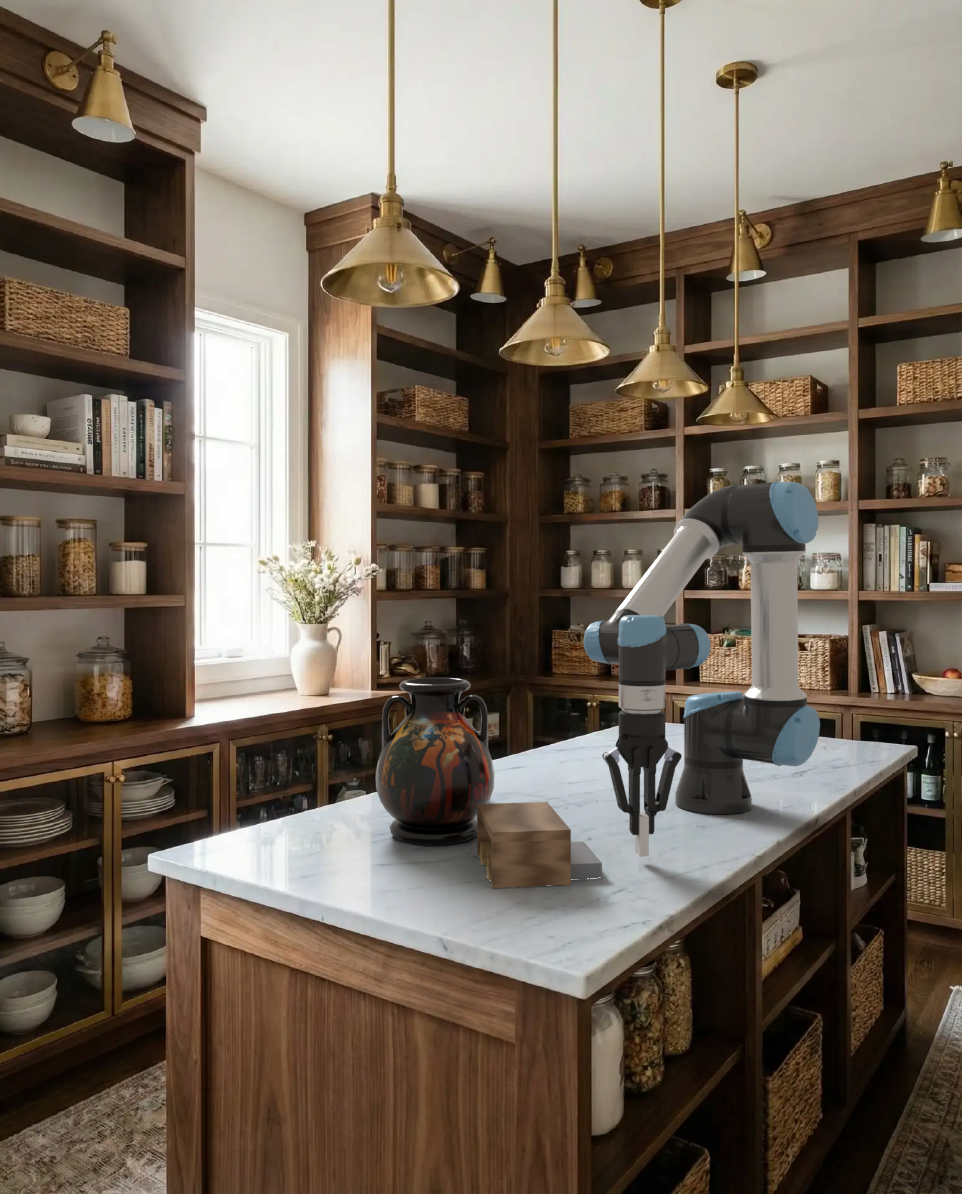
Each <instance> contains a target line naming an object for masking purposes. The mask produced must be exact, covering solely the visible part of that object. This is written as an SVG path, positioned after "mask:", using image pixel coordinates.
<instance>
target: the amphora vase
mask: <svg viewBox="0 0 962 1194" xmlns="http://www.w3.org/2000/svg"><path fill="white" fill-rule="evenodd" d="M398 685H399V688H400V690H402V691H403V692H407V694H409V698H410V701H409V700H408V699H407V698H405V697H404V696H402V695H392V696H390V697H389V698H387V700H386V702H385V704H384V706H383V708H382V716H381V719H382V721H381V751H380V754H379V757H378V761H377V765H376V770H375V789H376V792H377V795H378V798H379V801H380V803H381V804H382V806H383V808H384V809H385V811H386V812H387V813H388V814H389V815H390V816H391V817H392V818H393V819H394V820H392V822H391V824H390V825H389V830H390V831H389V832H390V834H391V835H392V836H393V837H395V838H396V839H397V840H399V841H401V842H404V843H408V844H413V845H420V844H422V845H421V846H448V845H453V844H459V843H463V842H467V841H469V840H472V839H473V838H475V837H477V804H489V802H490V801H491V799H492V798H491V797H492V794H493V792H494V788H495V770H494V769H495V768H494V764H493V759H492V756H491V753H490V750H489V722H488V721H489V718H488V717H489V716H488V708H487V705H486V703H485V701H484V700H483V698H482V697H480V696H479V695H477V694H470V695H467V696H465V697H464V698H463V699H461V701H460V697H461V694H462V693H463V692H465V691H467V690H469V689H470V688H471V683H470V682H469V681H468V680H466V679H462V678H454V677H420V678H411V679H405V680H403V681H401V682H400V683H399V684H398ZM471 702H473V703H476V704H478V707H479V709H480V715H481V716H480V717H481V724H480V730H479V731H480V733H478V732H479V731H478V730H477V729H476V728H475V727H474V726H473V725H472V723H471V722H470V721H469V720H468V719H467V718H466V716H465V709H466V708H465V707H466V706H467V705H468V704H469V703H471ZM396 703H401V705H402V706H403V707H404V708H405V717H404V718H403V720H402V721H401V722H400V723H399V725H397V726H396V728H395V729H394V730H393V731H392V733H391V732H390V724H389V717H390V711H391V707H392V705H394V704H396Z"/></svg>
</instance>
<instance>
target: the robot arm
mask: <svg viewBox="0 0 962 1194" xmlns="http://www.w3.org/2000/svg"><path fill="white" fill-rule="evenodd" d="M818 528H819V513H818V509H817V505H816V502H815V499H814V498H813V496H812V494H811V492H810V491H809V489H808V488H807V487H806V486H805V485H803V484H801V483H800V482H795V481H773V482H762V483H751V484H740V485H738V484H736V485H735V484H734V485H727V486H724V487H720V488H719V489H716V490H714V491H712V492H711V493H709V494H707V495H705V496H704V497H703V498H702V499H699V501H698V502H696V504H694V505H693V506H692V507H691V508H689V510H687V511H686V512H685V513H684V515H683V516H682V517H681V518H680V519H679V521H678V522H677V523H676V525H675V526H674V529H673V537H672V538H671V540H669V542H668V543H667V544H666V546H665V547H664V549H663V550H662V551H661V552H660V553H659V555H657V558H655V559H654V561H653V563H652V564H651V565H650V566H649V568H648V569H647V570H646V572H645V573H644V574H643V576H642V577H641V578H640V579H639V581H638V582H637V583H636V585H635V586H634V587H633V589H632V590H631V591H630V592H629V594H628V595H627V596H626V597H625V599H624V600H623V602H621V604H620V605H619V607H618V608H617V609H616V610H615V612H614V613H613V614H612V615H611V617H610V618H609V620H603V619H602V620H600V621H594V622H593V623H590V624H589V625H588V627H586V630H585V632H584V636H583V648H584V651H585V654H586V655H587V656H588V658H589V659H590V660H592V661H593V662H597V663H603V664H607V665H618V673H619V675H618V708H620V709H621V710H620V711H619V712H618V738H617V741H616V743H615V747H614V748H612V749H611V750H610V751H608V752H607V751H605V752H603V753H602V755H601V756H602V759H603V760H604V762H605V763H606V765H607V767H608V769H609V774H610V779H611V782H612V787H613V790H614V791H613V792H614V794H615V799H616V802H617V803H616V804H617V807H618V809H620V810H621V811H622V812H623V813H626V814H628V817H629V823H628V824H629V832H630V834H631V835H632V836H634V837H635V838H634V849H635V850H634V851H635V854H637V855H638V856H639V857H649V856H650V835H654V833H655V817H656V816H657V814H658V813H660V812H665V811H666V809H667V806H668V802H669V797H670V792H671V789H672V784H673V780H674V777H675V771H676V767H677V766H678V764H679V763H680V761H681V759H682V753H680V752H678V751H676V750H675V749H673V748H671V747H669V743H668V741H667V738H666V713H665V711H663V710H664V709H665V708H666V671H674V670H683V669H685V670H690V669H691V668H695V667H699V666H700V665H703V664H704V663H705V662H706V661H707V659H708V658H709V656H710V652H711V640H710V636H709V634H708V633H707V631H706V630H705V629H704V628H702V627H701V626H699V625H697V624H692V623H680V624H668V623H667V624H666V620H665V618H664V616H665V615H666V613H667V612H668V610H669V609H670V608H671V607H672V605H673V604H674V603H675V601H676V600H677V599H678V597H679V595H680V594H681V593H682V592H683V590H684V589H685V588H686V586H687V585H688V583H689V582H690V581H691V579H692V578H694V575H695V574H696V573H697V571H698V570H699V568H700V567H701V566H702V564H703V563H704V562H705V560H706V559H710V558H713V557H714V556H716V554H717V553H718V552H719V550H720V549H722V548H724V547H727V546H731V545H741V546H742V549H741V551H742V555H743V556H744V557H745V558H746V559H747V560H748V561H749V563H750V614H751V615H750V627H751V629H750V631H751V632H750V633H751V636H750V637H751V640H750V641H751V686H750V687H749V688H748V689H747V690H746V691H745V692H744V693H743V692H741V691H717V692H709V693H708V692H706V693H699V694H693V695H690V696H689V697H687V698H686V700H685V702H684V714H683V716H682V717H683V722H684V723H683V732H684V733H683V736H684V737H683V738H684V739H683V740H684V741H683V743H684V745H683V746H684V747H683V749H684V750H683V753H684V754H683V757H684V760H683V761H684V762H683V763H684V764H683V770H682V773H681V775H680V778H679V781H678V784H677V787H676V791H675V798H674V800H675V803H674V804H675V805H676V806H677V807H679V808H680V809H682V810H686V811H689V812H694V813H702V814H709V815H711V814H713V815H714V814H715V815H732V814H733V815H735V814H740V813H742V814H743V813H745V812H749V811H750V810H752V807H753V806H752V805H753V804H752V802H753V799H752V794H751V791H750V788H749V785H748V782H747V778H746V776H745V775H746V774H745V772H744V761H743V760H745V761H752V762H753V761H754V762H757V763H764V764H771V765H774V766H776V767H777V766H778V767H782V766H787V767H799V766H802V765H803V764H804V763H806V762H807V761H808V760H809V759H810V758H811V756H812V755H813V753H814V751H815V749H816V747H817V744H818V740H819V736H820V731H821V729H820V728H821V721H820V716H819V715H818V714H819V713H818V712H817V711H818V710H816V708H814V707H812V706H810V705H808V698H807V697H808V696H807V693H806V692H804V691H803V690H802V688H800V686H799V616H798V614H799V609H798V608H799V607H798V606H799V605H798V601H799V600H798V596H799V595H798V562H799V559H801V557H803V556H804V554H807V553H806V550H807V548H806V544H809V543H810V542H812V541H813V540H814V539H815V537H816V536H817V531H818V530H819V529H818ZM620 756H621V758H622V759H623V760H624V761H625V763H626V764H627V771H628V797H627V793H626V789H625V784H624V781H623V777H622V773H621V768H620V766H619V764H618V763H619V762H620ZM662 758H664V763H663V765H662V770H661V774H660V778H659V782H658V786H657V791H656V774H657V764H658V763H659V762H660V760H661V759H662ZM642 771H643V809H644V810H643V811H641V774H642ZM627 798H628V799H627Z"/></svg>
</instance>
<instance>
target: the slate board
mask: <svg viewBox="0 0 962 1194" xmlns="http://www.w3.org/2000/svg"><path fill="white" fill-rule="evenodd" d="M598 877H602V878H603V863H602V861H601V860H600V859H599V858H598V857H597V856H596V854H595V852H593V851H592V849H591V848H590V847H589V846H588V845H587V844H586V842H585V841H571V879H587V878H589V879H590V878H598Z"/></svg>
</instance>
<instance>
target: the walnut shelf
mask: <svg viewBox="0 0 962 1194" xmlns="http://www.w3.org/2000/svg"><path fill="white" fill-rule="evenodd" d="M476 819H477V835H476V837H477V838H476V840H477V841H476V843H477V844H476V849H477V850H476V854H478V855H477V857H478V856H480V857H479V861H480V863H482V864H481V865H487V866H486V877H487V876H488V877H487V879H489V880H491V881H490V885H492V886H491V888H499V889H501V888H500V887H521V888H537V887H536V886H544V887H548V886H547V885H566V886H571V885H572V884H571V882H572V880H571V842H572V837H571V836H572V830H571V828H570V826H568V825H567V823H566V822H565V821H564V820H563V819H562V818H561V816H560V815H559V814H558V812H556V810H554V808H553V807H552V806H551V805H550V804H549V802H548V801H533V802H532V801H528V802H527V801H526V802H525V801H524V802H499V803H497V802H496V803H495V802H494V803H488V804H477V817H476ZM489 880H488V881H489ZM532 886H533V887H532Z"/></svg>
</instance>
